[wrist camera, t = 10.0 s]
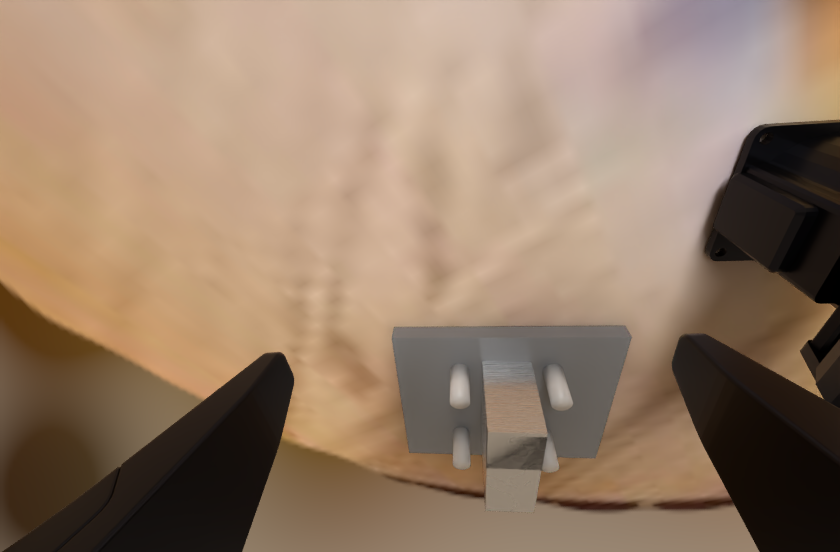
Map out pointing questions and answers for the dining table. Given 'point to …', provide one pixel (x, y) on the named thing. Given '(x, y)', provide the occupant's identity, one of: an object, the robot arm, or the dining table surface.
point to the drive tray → (541, 345)
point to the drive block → (511, 436)
